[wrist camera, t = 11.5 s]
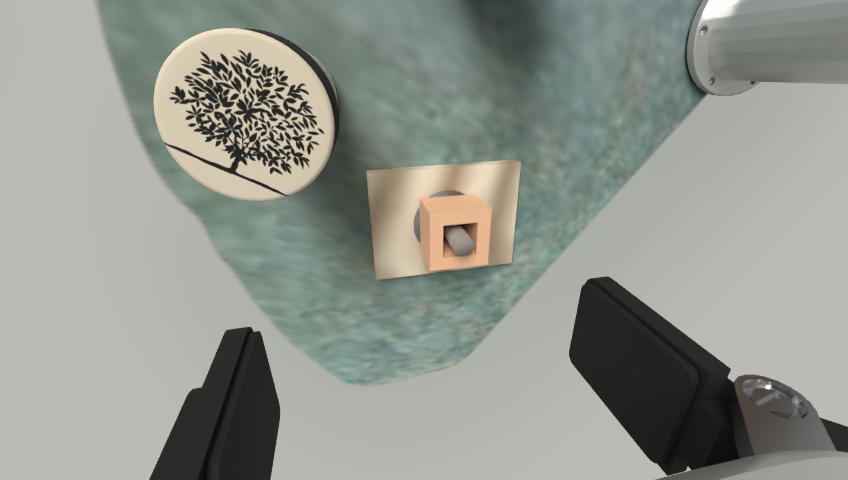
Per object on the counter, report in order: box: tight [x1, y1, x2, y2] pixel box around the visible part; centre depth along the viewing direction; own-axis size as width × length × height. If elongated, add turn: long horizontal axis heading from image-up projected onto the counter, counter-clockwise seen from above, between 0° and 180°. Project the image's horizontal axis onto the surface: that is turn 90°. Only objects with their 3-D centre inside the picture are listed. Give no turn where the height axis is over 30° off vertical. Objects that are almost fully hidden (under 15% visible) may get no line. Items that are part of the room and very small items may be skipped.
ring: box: [420, 194, 492, 271], centre depth 37 cm, size 6×6×4 cm
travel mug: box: [154, 28, 339, 202], centre depth 24 cm, size 8×8×18 cm
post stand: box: [366, 160, 521, 280], centre depth 37 cm, size 16×12×7 cm
